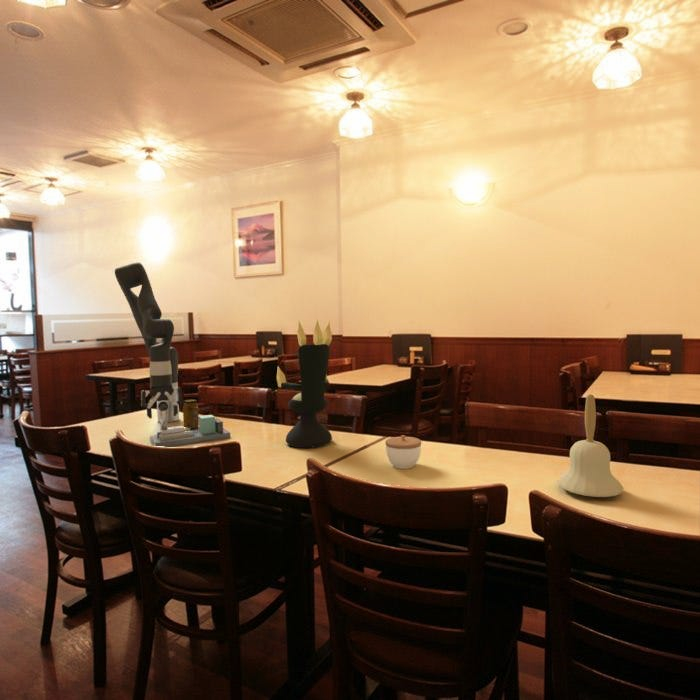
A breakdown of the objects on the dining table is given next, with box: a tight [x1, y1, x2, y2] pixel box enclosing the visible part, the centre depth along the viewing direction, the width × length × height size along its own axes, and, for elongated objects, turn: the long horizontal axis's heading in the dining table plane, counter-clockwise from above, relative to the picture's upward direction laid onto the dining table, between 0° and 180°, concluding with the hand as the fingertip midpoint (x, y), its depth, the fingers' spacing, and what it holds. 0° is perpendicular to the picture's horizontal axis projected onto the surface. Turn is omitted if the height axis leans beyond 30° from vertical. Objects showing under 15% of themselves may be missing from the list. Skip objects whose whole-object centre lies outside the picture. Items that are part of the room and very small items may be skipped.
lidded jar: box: [385, 434, 422, 470], centre depth 153 cm, size 11×11×9 cm
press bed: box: [149, 417, 231, 448], centre depth 191 cm, size 13×27×6 cm, turn 120°
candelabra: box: [276, 319, 333, 449], centre depth 179 cm, size 19×22×45 cm
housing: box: [199, 414, 216, 434], centre depth 195 cm, size 5×5×6 cm
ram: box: [158, 401, 188, 435], centre depth 188 cm, size 4×10×13 cm, turn 120°
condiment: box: [182, 399, 200, 430], centre depth 209 cm, size 7×8×12 cm
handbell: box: [556, 393, 625, 498], centre depth 127 cm, size 15×15×25 cm
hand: (162, 416), depth 186 cm, fingers open, 8 cm apart
